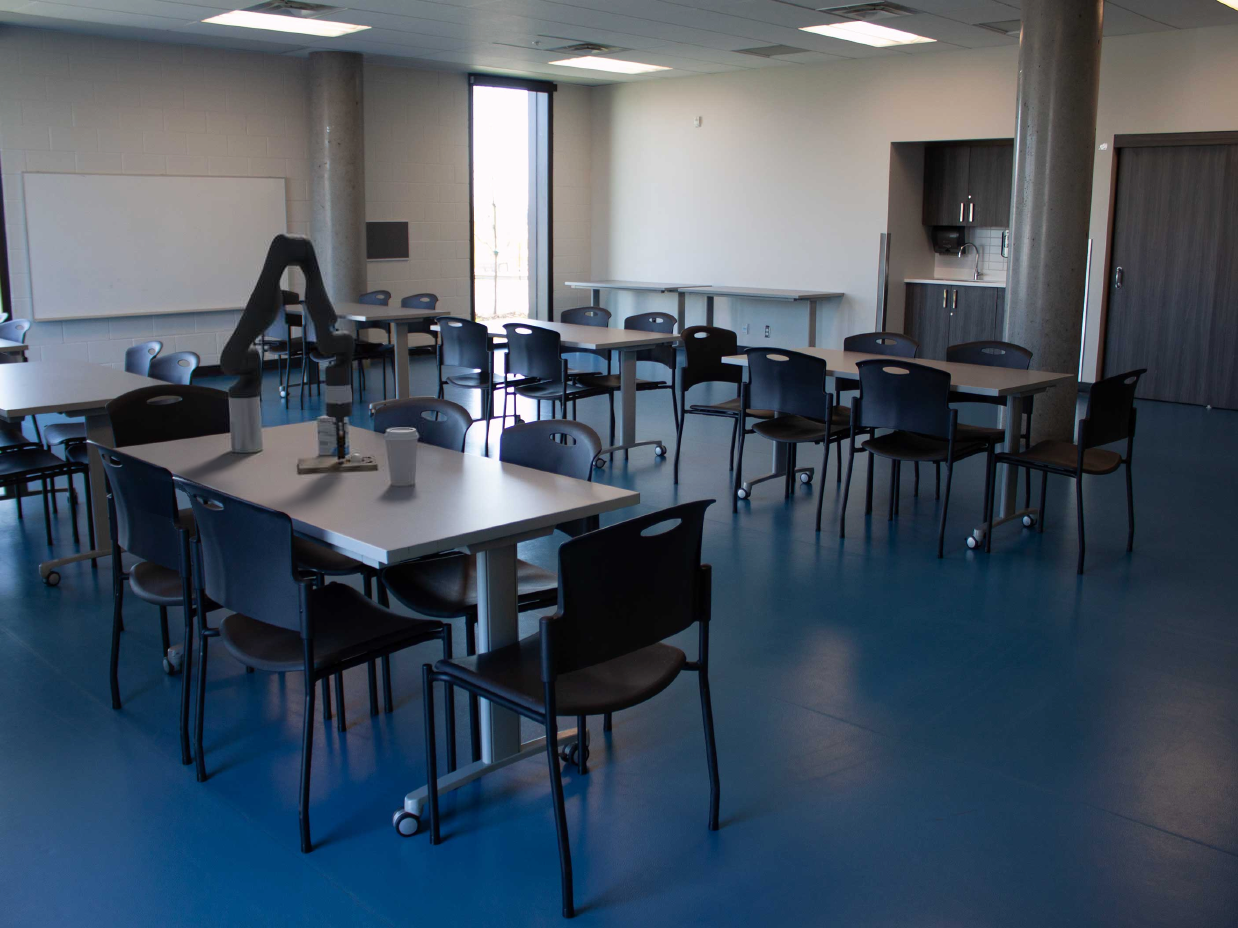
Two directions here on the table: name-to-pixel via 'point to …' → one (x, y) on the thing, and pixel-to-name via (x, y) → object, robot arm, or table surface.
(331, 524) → the table surface
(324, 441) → the ink box
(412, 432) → the coffee cup
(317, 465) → the wooden board
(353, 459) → the ball
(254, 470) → the table surface
